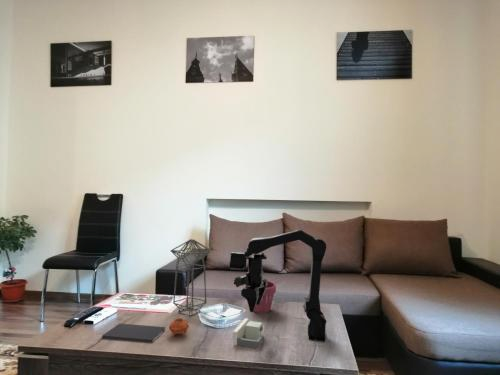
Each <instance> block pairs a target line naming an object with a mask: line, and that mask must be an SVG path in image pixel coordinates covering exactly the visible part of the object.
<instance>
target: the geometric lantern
mask: <svg viewBox="0 0 500 375" xmlns="http://www.w3.org/2000/svg"><path fill="white" fill-rule="evenodd" d="M188 246H189V247H188ZM180 247H181V248H180ZM202 247H203V248H205V249H203V248H202ZM178 248H180V249H178ZM177 249H178V250H177ZM192 250H193V253H191V252H192ZM212 251H213V250H212V249H210V248H208V247H207V246H205V245H204V244H203V243H201V242H199V241H197V240H196V239H194V238H193V239H191V238H190V239H188V240H187V241H185V242H184V243H182V244H179V245H178V246H176V247H174V248H173V249H171V250H170V252H171V253H172V254H173V255H174V257H175V258H177V260H176V265H175V275H174V276H175V277H174V278H175V279H174V289H173V290H174V291H173V305H175V306H176V308H178V314H182V315H184V316H189V317H191V316H194V315H196V314H199V313H198V312H199V310H200V309H201V310H202V307H204V306H205V305H206V304H207V290H206V289H207V287H206V286H207V285H206V284H207V282H206V277H207V276H206V275H207V274H206V267H207V266H206V264H205V257H207V255H209V254H210V253H211V252H212ZM196 254H197V255H196ZM190 255H193V256H194V257H195V258H196V259H195V260H194V261H193V263H190V262H189V260H188V259H187V257H188V256H190ZM180 260H183V263H184V264H182V265H179V264H180ZM185 260H186V261H185ZM199 260H201V261H202V264H197V261H199ZM186 262H187V263H188V264H187V263H186ZM184 266H185V268H184ZM194 266H198V267H196V268H194ZM179 269H182V270H187V275H186V276H187V277H186V278H187V279H186V297H184V298H180V299H178V300H176V291H177V290H176V289H177V280H178V272H179V271H178V270H179ZM199 269H203V280H204V285H203V286H204V299H201V298H197V297H194V281H195V280H194V275H195V274H194V273H195V272H194V270H199ZM190 275H191V296H190V297H189V290H190V289H189V288H190ZM189 299H191V300H190V303H189ZM184 300H186V302H185V303H186V304H180V303H177V302H180V301H184ZM194 300H197V301H201V302H202V303H201V302H200V303H198V304H194ZM194 307H197V308H194ZM183 311H188V312H189V313H188V314H186V313H183ZM193 311H196V312H195V313H191V312H193Z"/></svg>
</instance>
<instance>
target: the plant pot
mask: <svg viewBox="0 0 500 375" xmlns="http://www.w3.org/2000/svg"><path fill="white" fill-rule="evenodd" d="M267 281H268V280H267ZM263 286H264V285H263ZM249 287H250V286H249ZM266 287H267V288H266V290H265V292H264V294H263V297H262V299H261V302H260V304H259V305H257V304H256V305H255V308H254V311H253V312H254V313H257V314H265V313H266V314H267V313H269V312H270V311H271V310H272V309H271V308H272V304H273V300H274V295H275V294H276V292H277V285H276V283H275V282H273V281H268V285H267V286H266Z"/></svg>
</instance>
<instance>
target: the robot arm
mask: <svg viewBox="0 0 500 375" xmlns="http://www.w3.org/2000/svg"><path fill="white" fill-rule="evenodd" d="M296 241H300V242H302V243H304V244H305V245H307V246H308V247H309V249H310V256H311V257H310V258H311V265H310V267H311V268H310V279H309V280H310V281H309V289H308V296H307V297H305V296H304V298H303V299H304V300H303V301H304V304H303V306H302V308H303V311H304V313H305V314H306V317H307V318H308V320H309V322H308V324H307V336H308V340H312V341H319V342H326V339H327V330H326V328H327V322H328V321H327V319H326V317H325V315H324V313H323V311H322V310H321V309H322V308H321V302H320V288H321V277H322V276H321V275H322V265H323V260H324V258H325V255H326V250H327V243H326V242H325V240H323V239H322V238H321V237H315V236H312V234H311V235H310V234H309V233H307V232H305V231H304V230H303V229H302V228H301V229H300V228H298V229H295V230H293V231H292V230H291V231H289V232H285V233H281V234H277V235H273V236H268V237H267V236H266V237H264V236H262V237H253V238H251V239H250V241H249V242H248V245H247V248H246V249H245V250H244V252H235V251H232V252H230V258H229V269H230V270H245V268H247V267H248V268H247V272H246V273H245V275H241V276H240V275H238V276H236V277H235V278H234V279H233V284H234V285H235V288H240V287H241V286H244V285H245V287H243V288H242V289H241V290H240V296H242V297H243V298H244V299H246V301H247V304H248V309H249V312H250V313H253V312H254V308H255V305H256V304H257V305H259V304H260V302H261V299H262V297H263V294H264V292H265V290H266V288H267V287H266V286H267V285H268V279H267V278H263V275H264V271H263V260H267V258H268V256H267V255H266V254H265V253H264V251H266V250H268V249H271V248H272V247H276V246H277V247H278V246H280V245H284V244H288V243H293V242H296ZM252 255H253V256H252ZM263 285H264V286H263ZM249 286H250V287H249Z"/></svg>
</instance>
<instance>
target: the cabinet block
mask: <svg viewBox="0 0 500 375" xmlns="http://www.w3.org/2000/svg"><path fill="white" fill-rule="evenodd" d="M263 330H264V328H263V322H259V321H253V320H249V322H248V323H247V325H246V335H245V339H250V340H257V339H258V338H259V336H260V335H263Z"/></svg>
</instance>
